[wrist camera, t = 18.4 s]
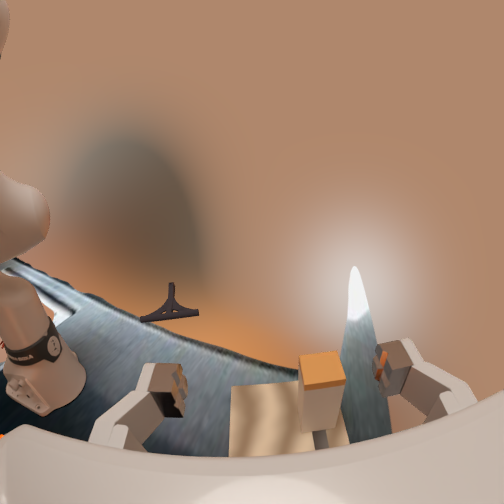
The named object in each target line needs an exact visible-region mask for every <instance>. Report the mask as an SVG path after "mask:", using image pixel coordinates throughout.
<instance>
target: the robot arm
mask: <svg viewBox="0 0 504 504" xmlns="http://www.w3.org/2000/svg"><path fill="white" fill-rule="evenodd" d="M9 20H10V16H9V9H8V4H7V2H6V0H0V57H1V52H2V50H3V48H4V45H5V42H6V39H7V35H8V30H9ZM49 225H50V212H49V207H48V204H47V202H46V200H45V198H44V196H43V195H42V194H41V192H40V191H38V190H37V189H36V188H35V187H33V186H31V185H25V184H21V183H19V182H16V181H14V180H12V179H11V178H9V177H7V176H6V175H5V174H4V173H2V172H1V171H0V264H1V263H3V262H5V261H7V260H10V259H12V258H14V257H17V256H19V255H21V254H24V253H25V252H27V251H28V250H30V249H31V248H33V247H34V246H36V245H37V244H39V243H40V242H42V241H43V240H44V239H45V238H46V236H47V233H48V229H49ZM0 337H1V338H2V340H3V341H2V342H1V343H0V345H1V344H2V343H3V342H4V343H3V345H2V349H3V347H4V346H5V350H6V353H7V359H6V362H5V364H4V368H3V372H4V375H5V377H6V379H7V380H8V383H7V387H6V393H7V394H8V396H9V397H11V398H12V399H14V400H15V401H17V402H19V403H20V404H22V405H23V406H25V407H27V408H28V409H30V410H31V411H33V412H35V413H37V414H38V415H40V416H46V415H47V414H49V413H50V412H51V411H53V410H54V409H56V408H59V407H62V406H64V405H66V404H68V403H70V402H71V401H72V400H74V399H75V398H76V397H77V396H78V395H79V393H80V392H81V391H82V389H83V387H84V385H85V381H86V372H85V369H84V367H83V366H82V365H81V364H80V363H79V362H78V357H77V355H76V353H75V352H73V351H71V350H70V348H69V347H68V346H67V344H66V343H65V341H64V340H63V338H62V337H61V335H60V334H59V333H58V331H57V329H56V327H55V325H54V323H53V322H52V320H51V318H50V317H49V316H47V314H46V312H45V310H44V308H43V306H42V303H41V301H40V299H39V297H38V294H37V292H36V290H35V288H34V287H33V285H32V284H31V283H29V282H28V281H27V280H25V279H23V278H20V277H13V276H8V275H5V274H4V273H2V272H1V271H0ZM375 352H376V356H375V357H374V358H373V361H372V371H373V375H374V378H375V379H376V380H378V381H379V385H378V388H379V390H380V393H381V395H382V398H384V397H388V396H393V395H397V394H400V395H401V396H402V397H404V398H405V399H406V400H407V401H408V402H410V403H411V404H412V405H413V406H415V407H416V408H417V409H418V410H420V411H421V412H422V413H423V414H425V415H426V416H427V418H426V420H425V421H424V423H423V424H422V425H419V426H416V427H413V428H410V429H407V430H404V431H400V432H397V433H393V434H390V435H386V436H383V437H379V438H375V439H371V440H367V441H362V442H358V443H353V444H348V445H343V446H338V447H333V448H327V449H321V450H314V451H307V452H299V453H290V454H280V455H268V456H252V457H194V456H177V455H165V454H155V453H148V452H147V451H146V450H145V449H144V447H143V446H142V443H143V442H144V441H145V440H146V439H147V438H148V437H149V435H150V434H151V433H152V432H153V431H154V430H155V429H156V428H157V426H158V425H159V424H160V423H161V422H162V421H163V419H164V417H173V418H183V416H184V411H185V403H184V401H183V400H184V399H185V398H186V397H187V393H188V385H187V380H186V377H185V376H184V375H182V370H183V369H182V367H181V364H172V363H145V365H144V366H143V369H142V372H141V375H140V378H139V381H138V384H137V387H136V390H135V391H131V392H130V393H129V394H128V395H126V396H125V397H124V398H123V399H121V400H120V401H119V402H118V403H117V404H115V405H114V406H113V407H112V408H110V409H109V410H108V411H107V412H105V413H104V414H103V415H102V416H100V417H99V418H98V419H97V420H96V422H95V424H94V427H93V430H92V432H91V435H90V438H89V441H88V442H85V441H81V440H77V439H73V438H70V437H66V436H62V435H59V434H55V433H52V432H49V431H46V430H42V429H39V428H37V427H34V426H31V425H27V424H24V425H21V426H19V427H17V428H15V429H14V430H12V431H11V432H9V433H7V434H6V435H4V436H3V437H1V438H0V504H504V389H503V390H501V391H500V392H497V393H495V394H494V395H492V396H490V397H488V398H486V399H483V400H481V401H479V402H477V400H476V398H475V396H474V395H473V393H472V391H471V390H470V388H469V386H468V384H467V383H466V382H464V381H462V380H460V379H458V378H456V377H454V376H453V375H451V374H449V373H447V372H445V371H444V370H442V369H440V368H438V367H436V366H434V365H432V364H431V363H429V362H424V360H423V359H422V357H421V355H420V354H419V352H418V350H417V349H416V347H415V345H414V344H413V342H412V340H411V339H410V338H405V339H400V340H396V341H391V342H387V343H382V344H377V346H376V349H375Z"/></svg>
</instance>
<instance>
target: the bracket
mask: <svg viewBox="0 0 504 504" xmlns="http://www.w3.org/2000/svg"><path fill="white" fill-rule="evenodd" d="M174 296H175V285H174V283H173V282H172V283H169V294H168V299H167V300H166V302H165V303H164V305H163V306H162V307H161V308H159V309H158V310H156V311H155V312H153V313H151V314H149V315H146V316H141V317H140V322H155V321H163V320H172V319H179V318H187V317H194V316H199V311H198V309H195V310H193V309H189V308H185V307H183V306H181V305H179V304H178V303H177V302H176V300H175V298H174ZM173 310H176V311H178V312H173ZM165 311H166V313H165V314H162V313H163V312H165Z"/></svg>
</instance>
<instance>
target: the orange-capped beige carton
mask: <svg viewBox="0 0 504 504" xmlns="http://www.w3.org/2000/svg"><path fill="white" fill-rule="evenodd" d="M345 382H346V377H345V374H344V371H343V368H342V365H341V362H340V359H339V356H338V353H337V351H330V352H323V353H316V354H307V355H299V376H298V413H299V420H300V427H301V433H305V432H312V431H319V430H325V429H331V428H335V426H336V422H337V418H338V414H339V409H340V405H341V401H342V396H343V391H344V387H345Z"/></svg>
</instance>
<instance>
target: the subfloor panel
mask: <svg viewBox="0 0 504 504" xmlns="http://www.w3.org/2000/svg"><path fill="white" fill-rule="evenodd" d="M348 444H349V440H348V436H347V432H346V428H345V424H344V420H343V416H342V412H341V409H339V414H338V418H337V422H336V426H335V428H331V429H325V430H319V431H312V432H305V433H301V427H300V420H299V413H298V381H292V382H283V383H272V384H260V385H245V386H232V389H231V413H230V439H229V457H252V456H268V455H280V454H290V453H299V452H307V451H314V450H321V449H327V448H333V447H338V446H343V445H348Z"/></svg>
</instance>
